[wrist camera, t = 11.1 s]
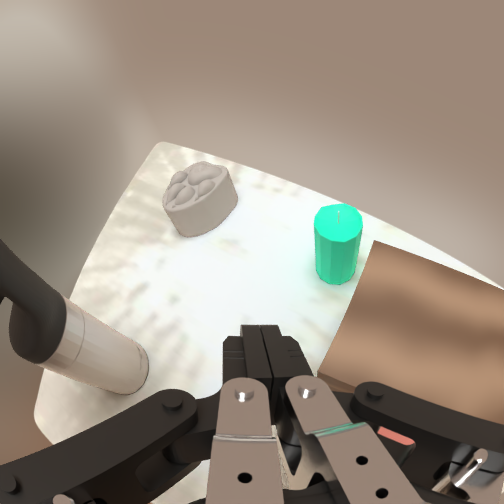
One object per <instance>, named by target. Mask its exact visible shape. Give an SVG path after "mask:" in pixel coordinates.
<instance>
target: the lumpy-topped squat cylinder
mask: <svg viewBox="0 0 504 504" xmlns="http://www.w3.org/2000/svg"><path fill="white" fill-rule="evenodd" d="M237 202H238V197H237V194H236V191H235V188H234V186H233V183H232V180H231V177H230V175H229V172H228V170H227V168H226V167H224V166H220V165H213V164H210V163H208V162H205V161H202V162H198V163H195V164H193V165H191V166H189V167H188V168H187V169H185V170H184V171H179V172H177V173H175V174H174V175H173V177H172V179H171V182H170V185H169V186H168V188H167V189H166V192H165V194H164V196H163V207H164V209H165V211H166V213H167V214H168V216H169V218H170V219H171V221H172V222H173V224H174V225H175V227H176V228H177V230H178V231H179V233H180V234H181V235H182V236H184V237H195V236H199V235H202V234H204V233H207V232H209V231H211V230H213V229H214V228H216V227H217V226H219V225H220V224H221V223H222V222H223V221H224V220H225V219H226V217H227V216H228V215H229V214H230V213H231V211H232V210H233V209H234V208H235V206H236V204H237Z"/></svg>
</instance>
